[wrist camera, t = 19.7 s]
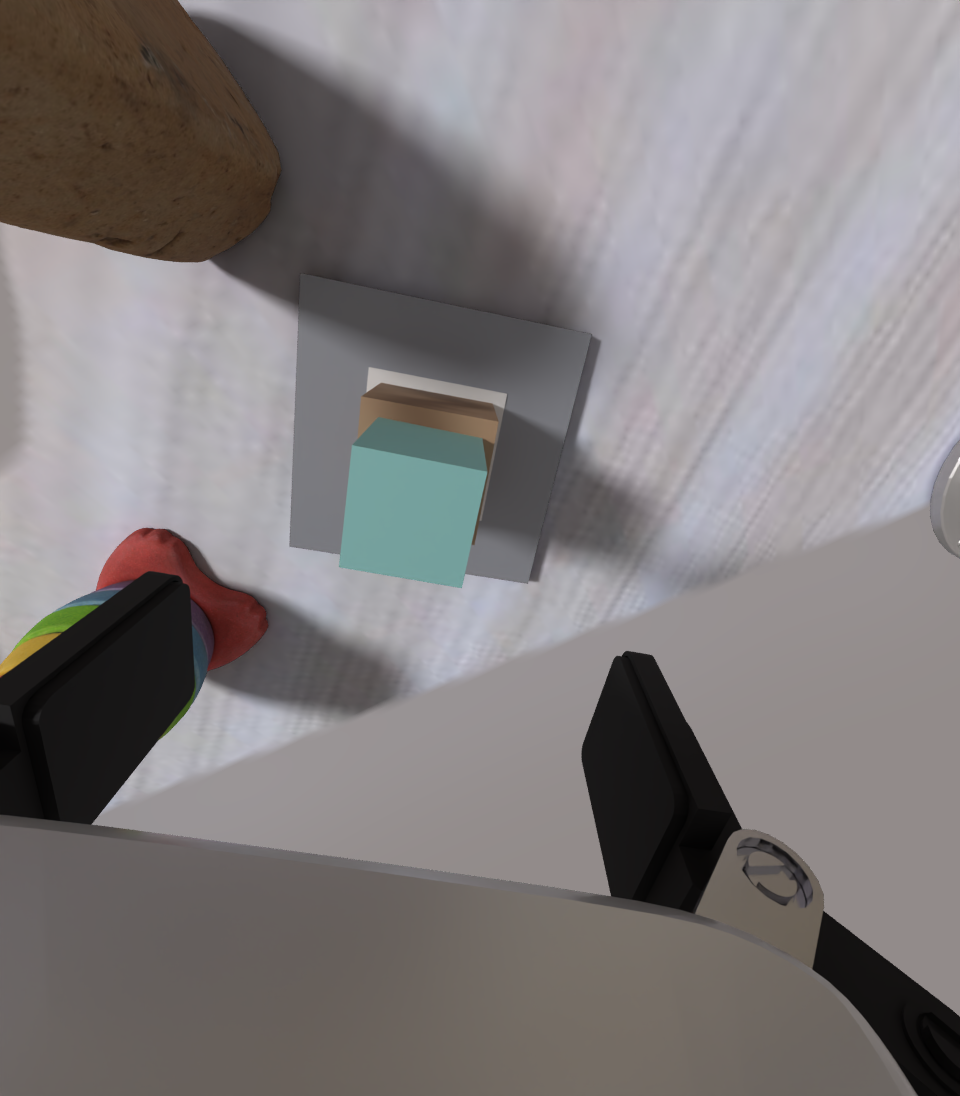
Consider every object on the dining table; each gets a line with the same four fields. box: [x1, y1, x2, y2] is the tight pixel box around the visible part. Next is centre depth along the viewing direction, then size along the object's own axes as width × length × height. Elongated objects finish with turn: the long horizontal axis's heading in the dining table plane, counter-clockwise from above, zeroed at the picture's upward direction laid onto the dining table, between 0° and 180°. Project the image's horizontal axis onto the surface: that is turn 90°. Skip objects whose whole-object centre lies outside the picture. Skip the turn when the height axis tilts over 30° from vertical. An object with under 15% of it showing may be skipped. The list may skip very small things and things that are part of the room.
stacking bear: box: [0, 528, 268, 739], centre depth 28 cm, size 11×10×18 cm
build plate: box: [290, 273, 592, 584], centre depth 31 cm, size 16×16×1 cm
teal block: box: [339, 417, 487, 588], centre depth 22 cm, size 5×5×6 cm
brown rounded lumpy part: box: [0, 0, 281, 262], centre depth 16 cm, size 11×8×20 cm
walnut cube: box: [357, 383, 499, 545], centre depth 28 cm, size 6×6×6 cm
